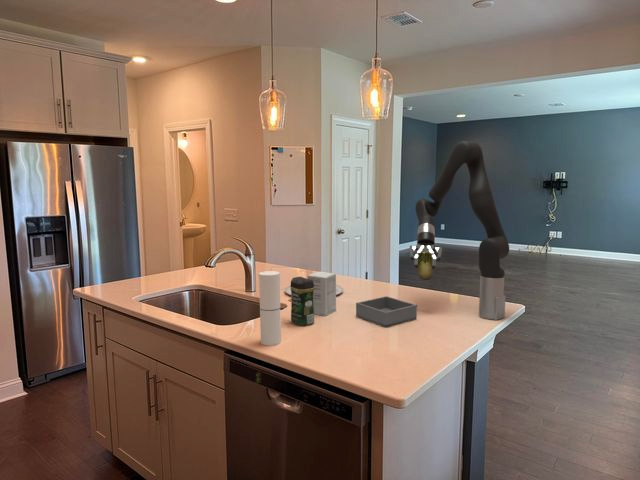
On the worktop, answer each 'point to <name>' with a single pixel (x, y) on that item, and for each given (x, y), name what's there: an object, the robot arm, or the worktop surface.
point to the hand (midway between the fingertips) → (424, 267)
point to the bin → (386, 311)
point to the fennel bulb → (425, 266)
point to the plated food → (338, 290)
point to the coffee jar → (302, 301)
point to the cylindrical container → (270, 308)
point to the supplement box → (324, 292)
